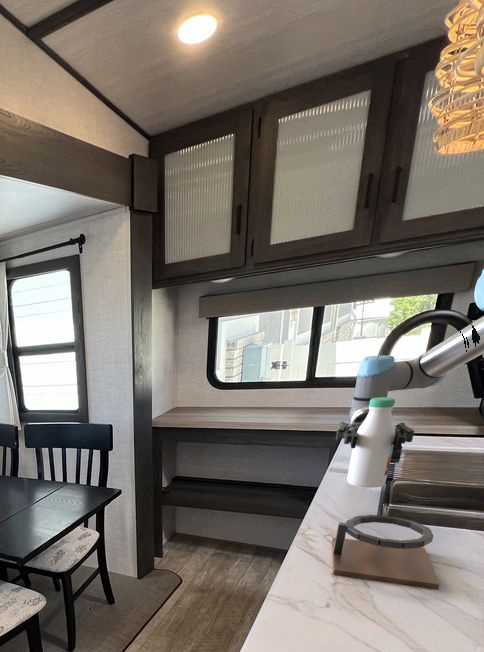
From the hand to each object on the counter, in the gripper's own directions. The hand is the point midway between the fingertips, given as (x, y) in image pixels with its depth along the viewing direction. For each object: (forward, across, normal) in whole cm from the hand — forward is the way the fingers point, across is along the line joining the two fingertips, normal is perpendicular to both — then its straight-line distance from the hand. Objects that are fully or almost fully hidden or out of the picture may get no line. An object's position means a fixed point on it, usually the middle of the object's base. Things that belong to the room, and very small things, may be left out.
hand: (376, 443), depth 104 cm
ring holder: (+23, -2, -19) cm, 30 cm away
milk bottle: (-5, 0, -11) cm, 12 cm away
